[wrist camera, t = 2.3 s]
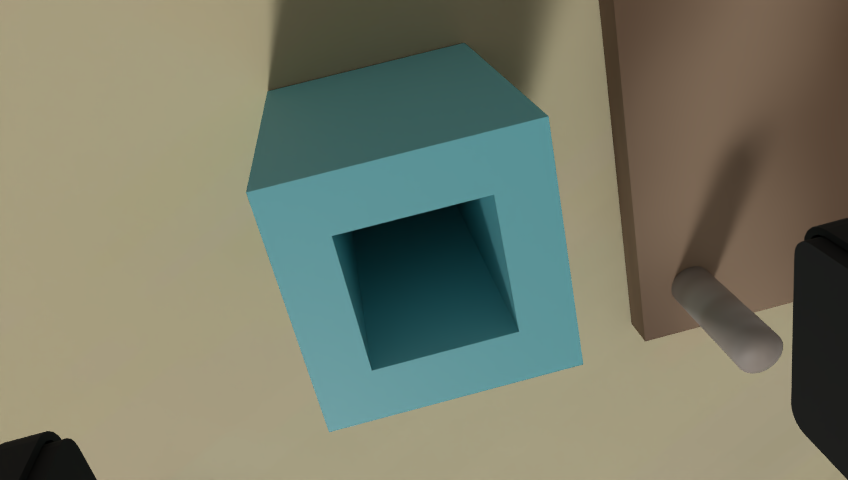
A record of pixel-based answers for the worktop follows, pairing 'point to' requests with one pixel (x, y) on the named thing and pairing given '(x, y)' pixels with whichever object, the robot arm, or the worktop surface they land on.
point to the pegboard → (724, 156)
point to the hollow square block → (414, 233)
